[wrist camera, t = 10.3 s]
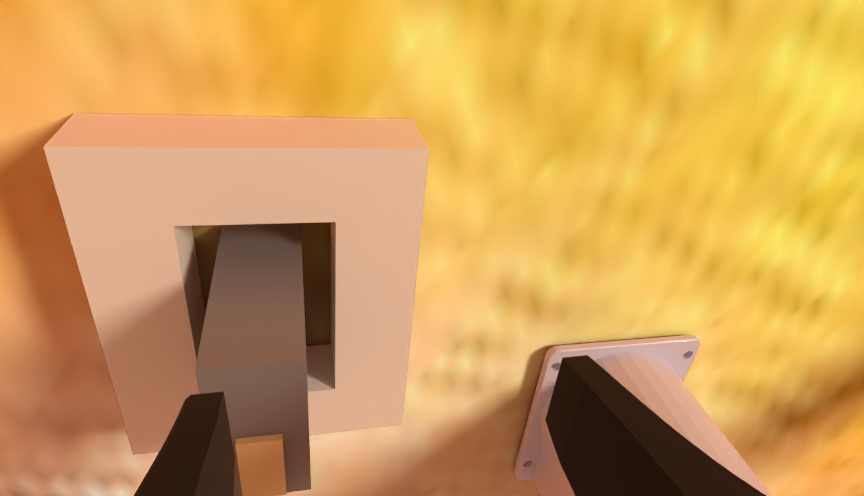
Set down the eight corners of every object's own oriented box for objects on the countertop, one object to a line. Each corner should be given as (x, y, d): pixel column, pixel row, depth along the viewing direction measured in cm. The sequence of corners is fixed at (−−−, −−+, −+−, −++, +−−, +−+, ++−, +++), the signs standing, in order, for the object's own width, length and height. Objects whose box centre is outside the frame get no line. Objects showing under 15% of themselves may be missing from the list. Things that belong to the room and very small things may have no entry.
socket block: (392, 380, 25) (402, 424, 23) (147, 402, 23) (133, 454, 20) (413, 118, 18) (429, 148, 16) (74, 113, 16) (43, 146, 14)
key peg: (300, 221, 20) (306, 366, 14) (304, 333, 22) (310, 495, 17) (222, 223, 19) (194, 376, 13) (236, 338, 22) (217, 507, 16)
